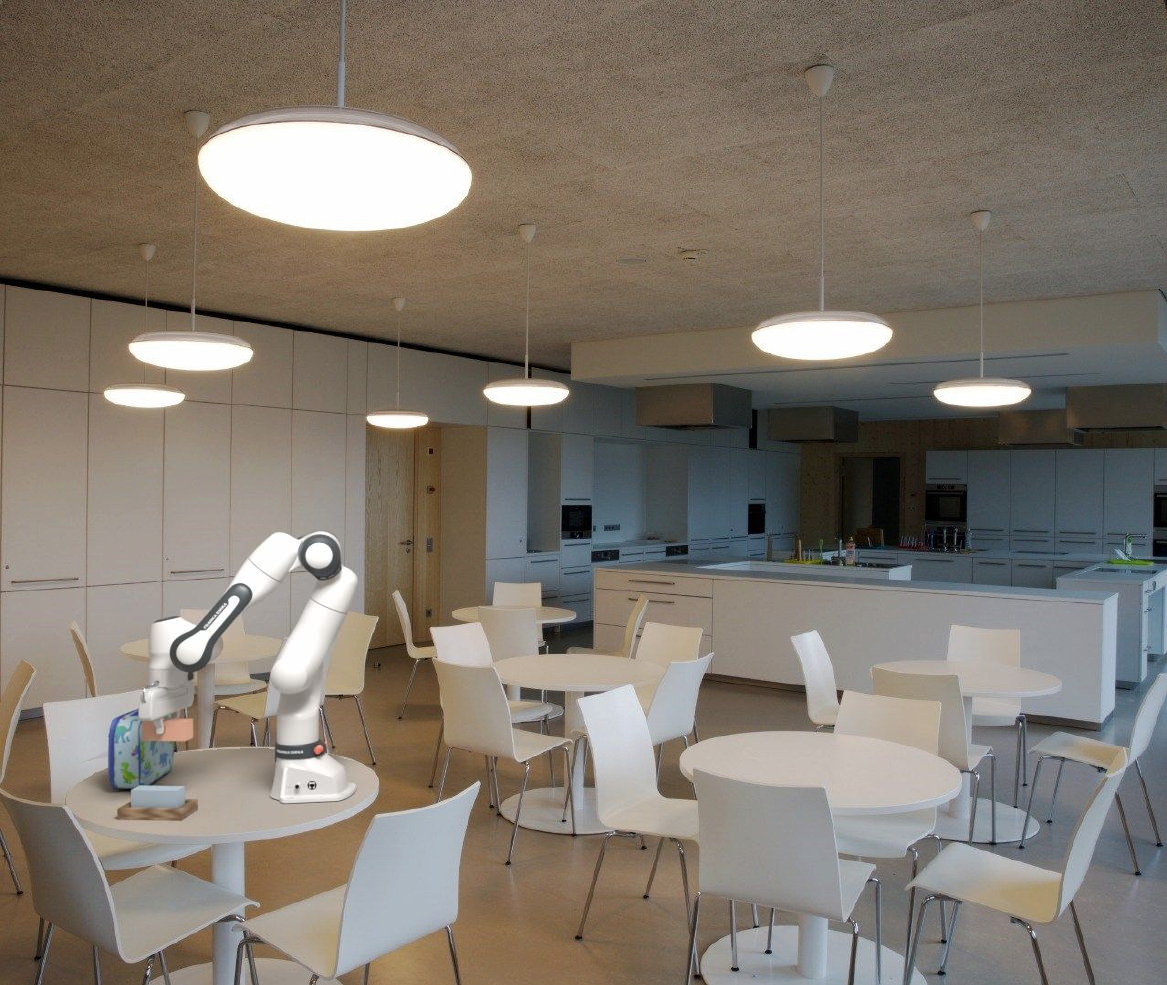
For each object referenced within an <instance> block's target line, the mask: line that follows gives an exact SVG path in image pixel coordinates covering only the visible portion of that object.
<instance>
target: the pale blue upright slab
mask: <svg viewBox="0 0 1167 985" xmlns="http://www.w3.org/2000/svg"><path fill="white" fill-rule="evenodd" d="M185 799H186V786H184V785H182V786H181V785H150V786H142V785H140V786H138V787H136V788H134V789H130V802H131V807H150V808H179V807H181V806H182V805H184V804H185Z"/></svg>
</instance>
